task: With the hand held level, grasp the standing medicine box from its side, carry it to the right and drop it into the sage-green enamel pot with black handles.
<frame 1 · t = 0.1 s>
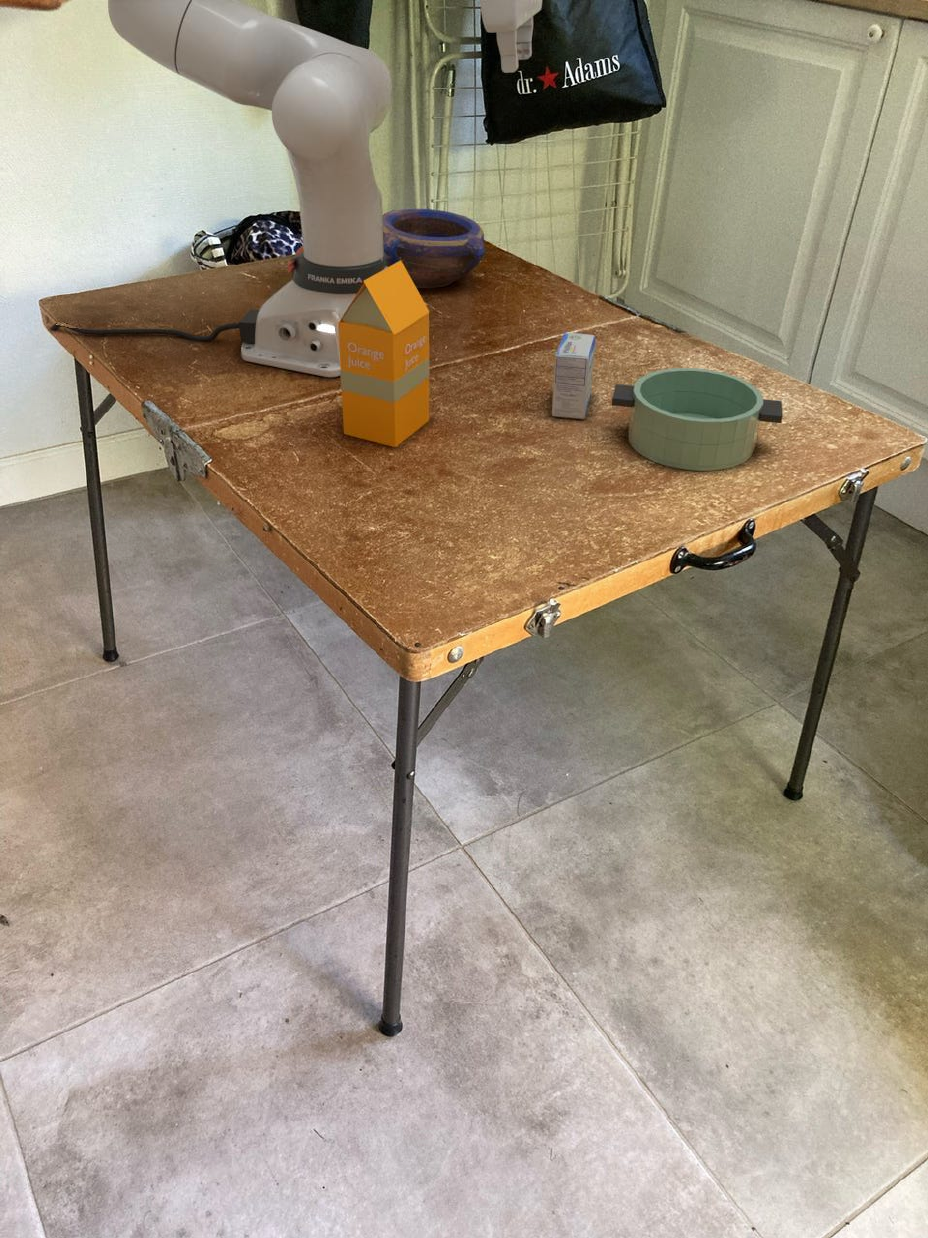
hand: (517, 64, 129), 39 cm above the table, tool pointing down, fingers open, 8 cm apart
medicine box: (571, 407, 142), on the table
pot handles: (696, 403, 131), point 5 cm above the table
pot: (690, 441, 134), on the table
bowl: (430, 281, 182), on the table
orange juice: (387, 428, 136), on the table
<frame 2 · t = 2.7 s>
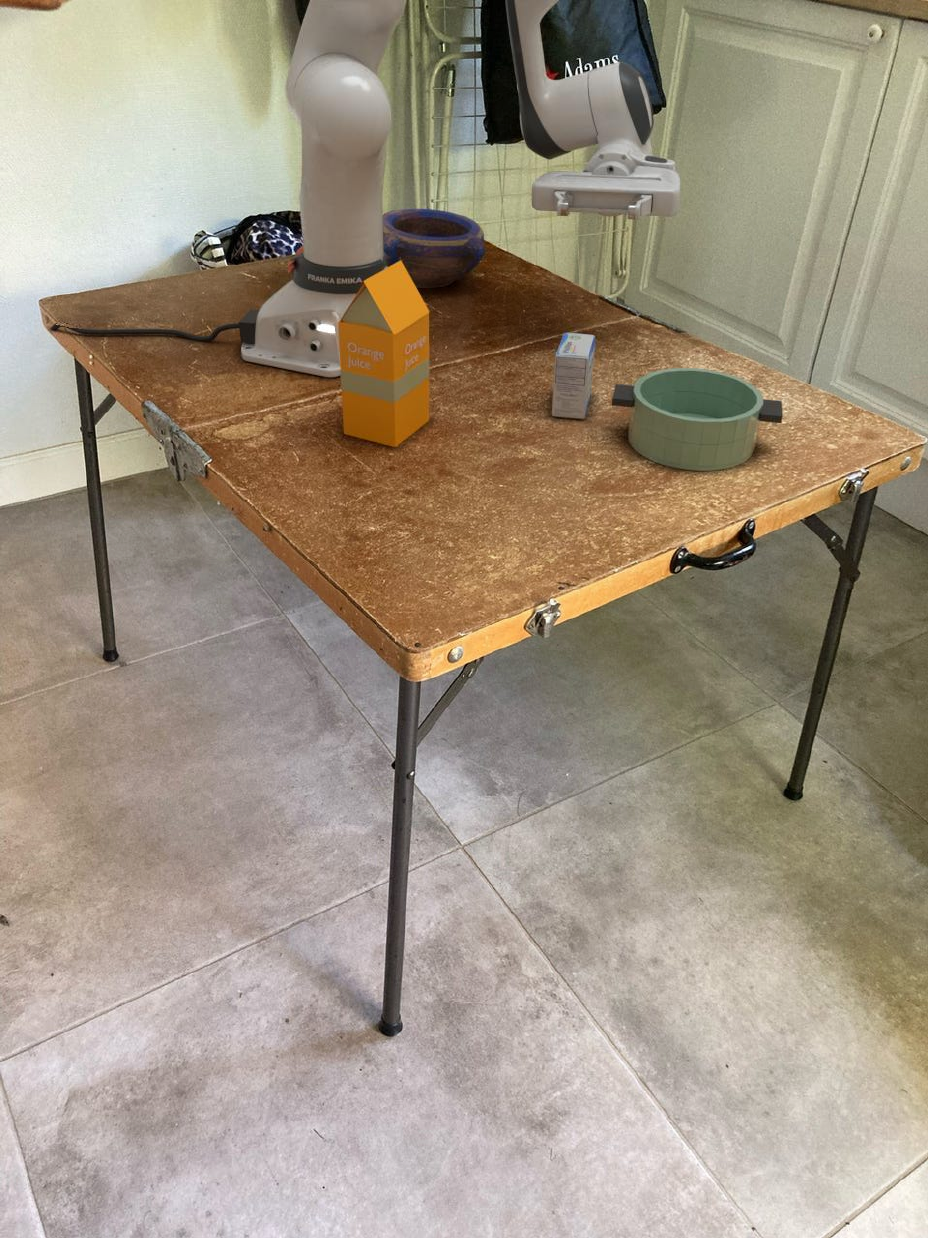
hand: (597, 211, 141), 21 cm above the table, tool horizontal, fingers open, 8 cm apart
nothing on the table moved.
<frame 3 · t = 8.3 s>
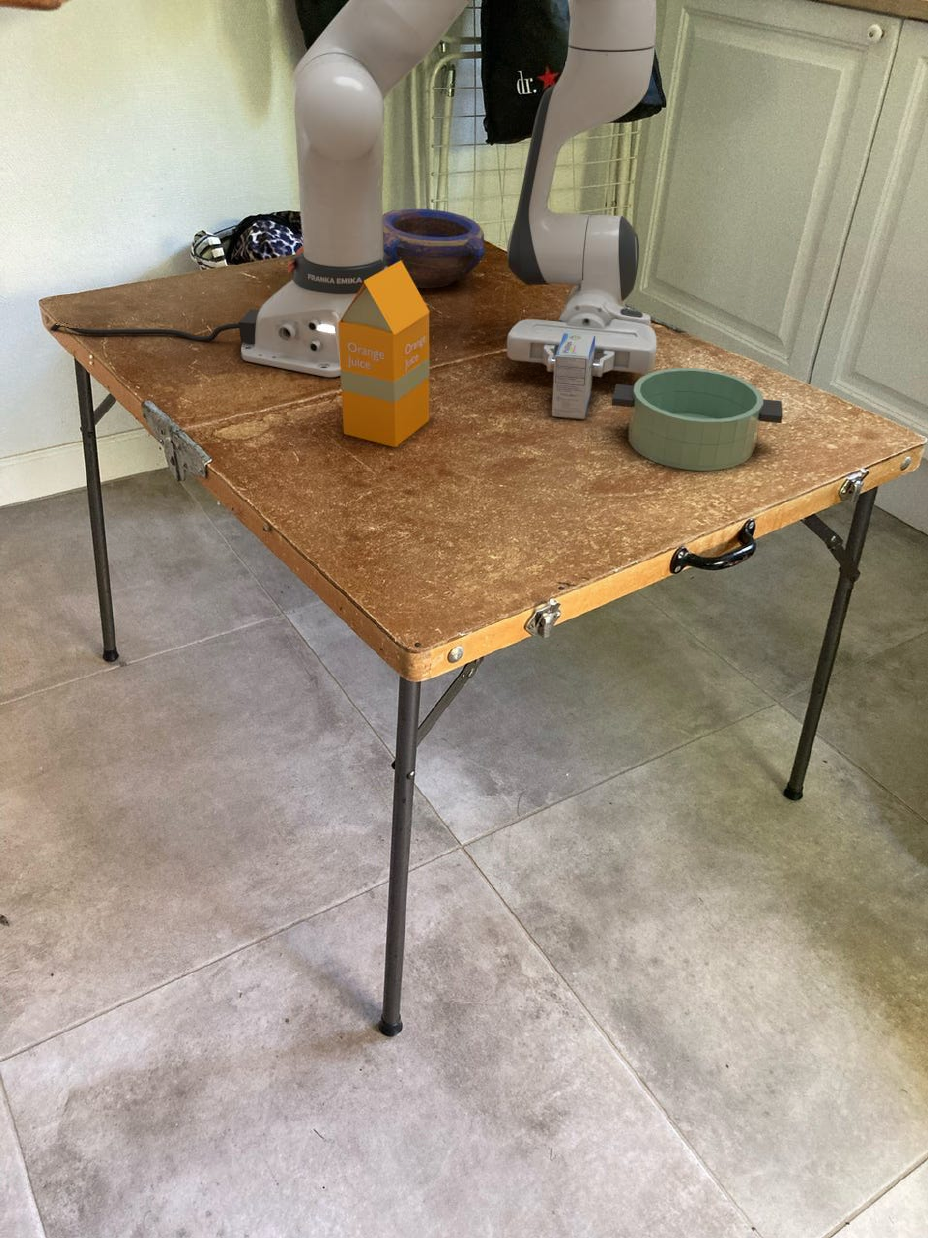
hand: (574, 368, 140), 5 cm above the table, tool horizontal, fingers closed on medicine box, 4 cm apart
medicine box: (571, 407, 142), on the table, touching gripper
everything else where it was.
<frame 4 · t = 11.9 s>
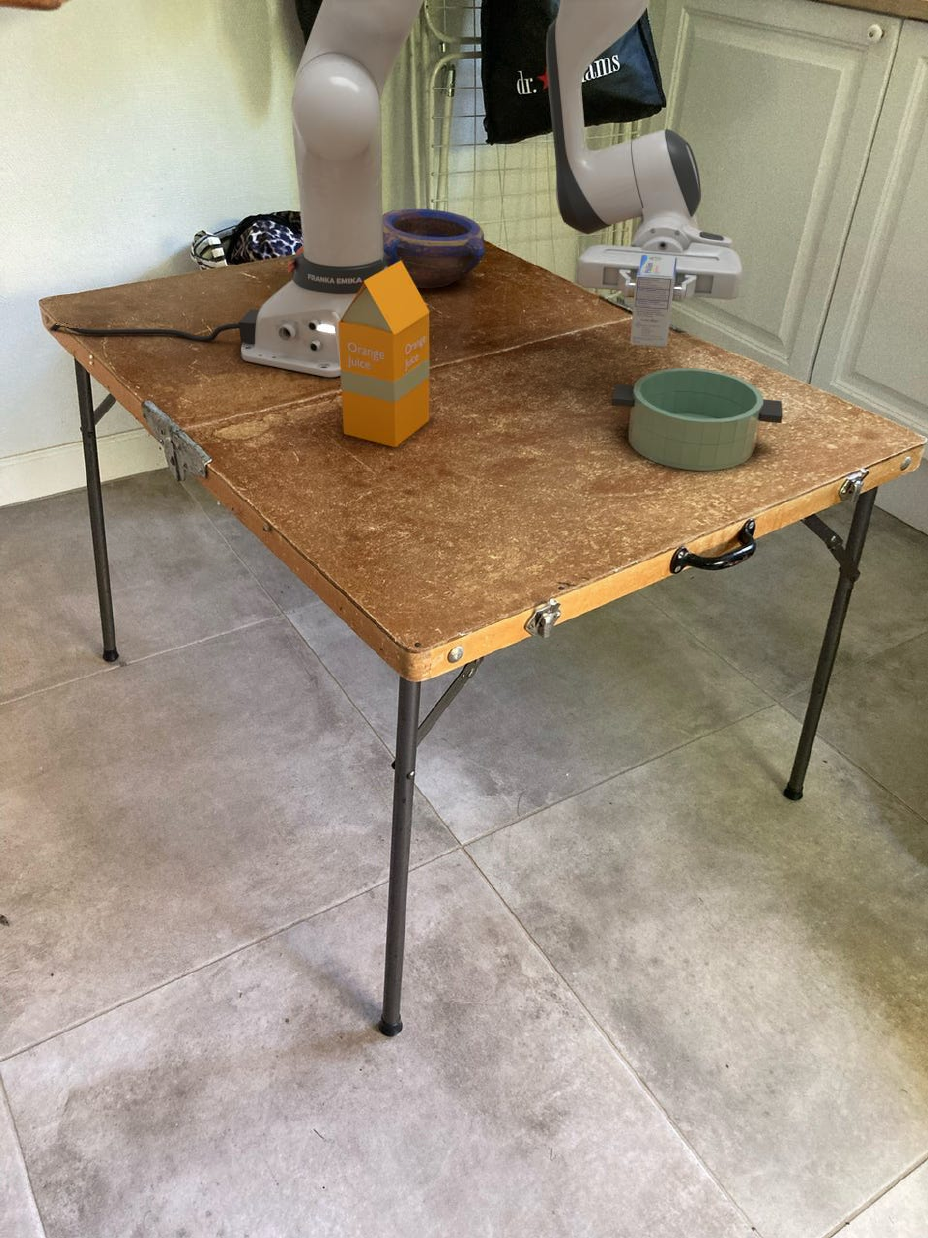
hand: (654, 293, 128), 17 cm above the table, tool horizontal, fingers closed on medicine box, 4 cm apart
medicine box: (649, 336, 131), point 12 cm above the table, touching gripper
everything else where it was.
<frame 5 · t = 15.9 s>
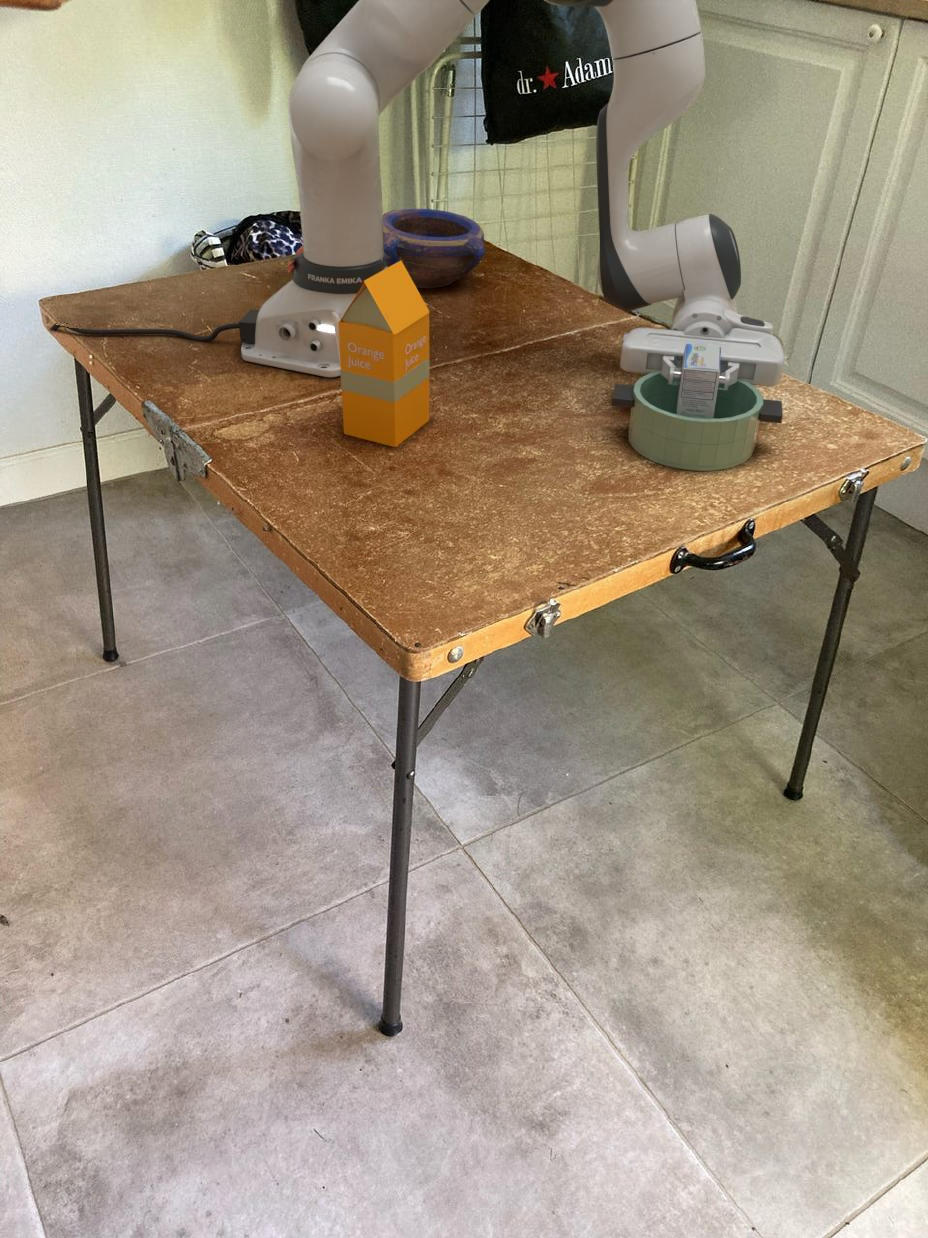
hand: (698, 381, 130), 8 cm above the table, tool horizontal, fingers closed on medicine box, 4 cm apart
medicine box: (692, 423, 133), point 2 cm above the table, touching gripper
everything else where it was.
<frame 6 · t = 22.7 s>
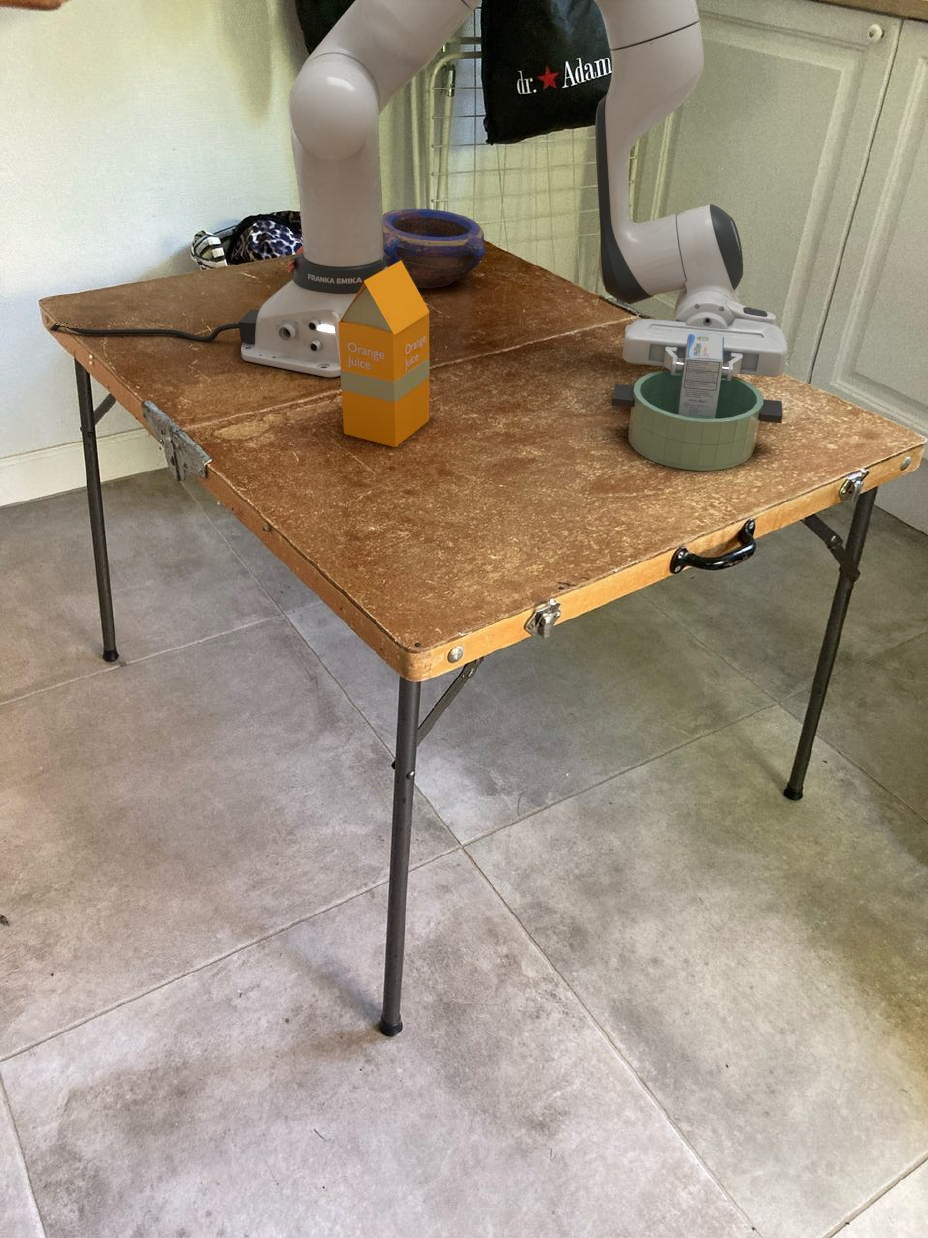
hand: (701, 372, 130), 9 cm above the table, tool horizontal, fingers closed on medicine box, 4 cm apart
medicine box: (695, 414, 132), point 4 cm above the table, touching gripper
everything else where it was.
when the fingers open (11 cm above the table, at t = 29.4 s): medicine box drops 5 cm, resting on pot.
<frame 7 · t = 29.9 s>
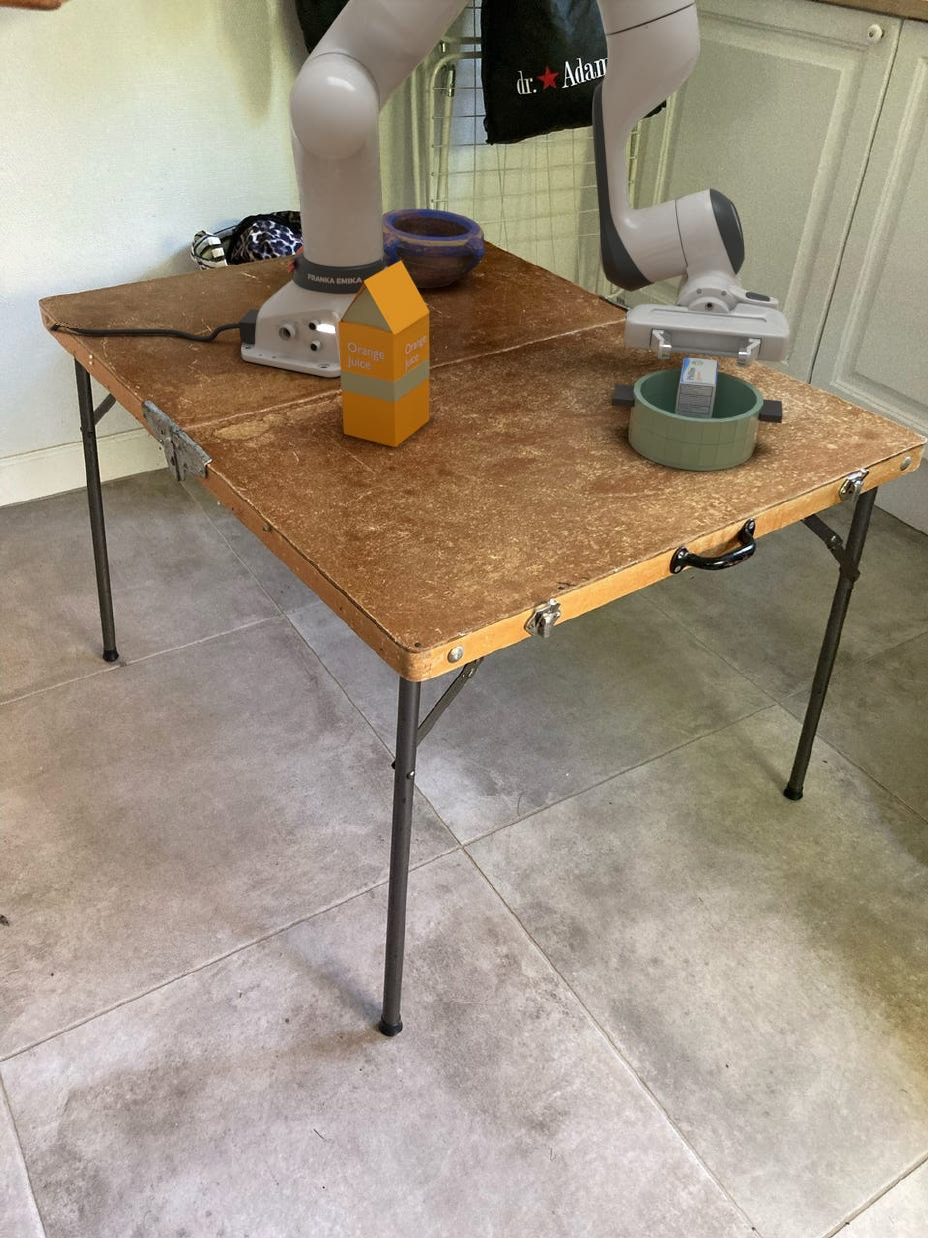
hand: (703, 356, 128), 11 cm above the table, tool horizontal, fingers open, 8 cm apart
medicine box: (689, 436, 135), resting on pot
everything else where it was.
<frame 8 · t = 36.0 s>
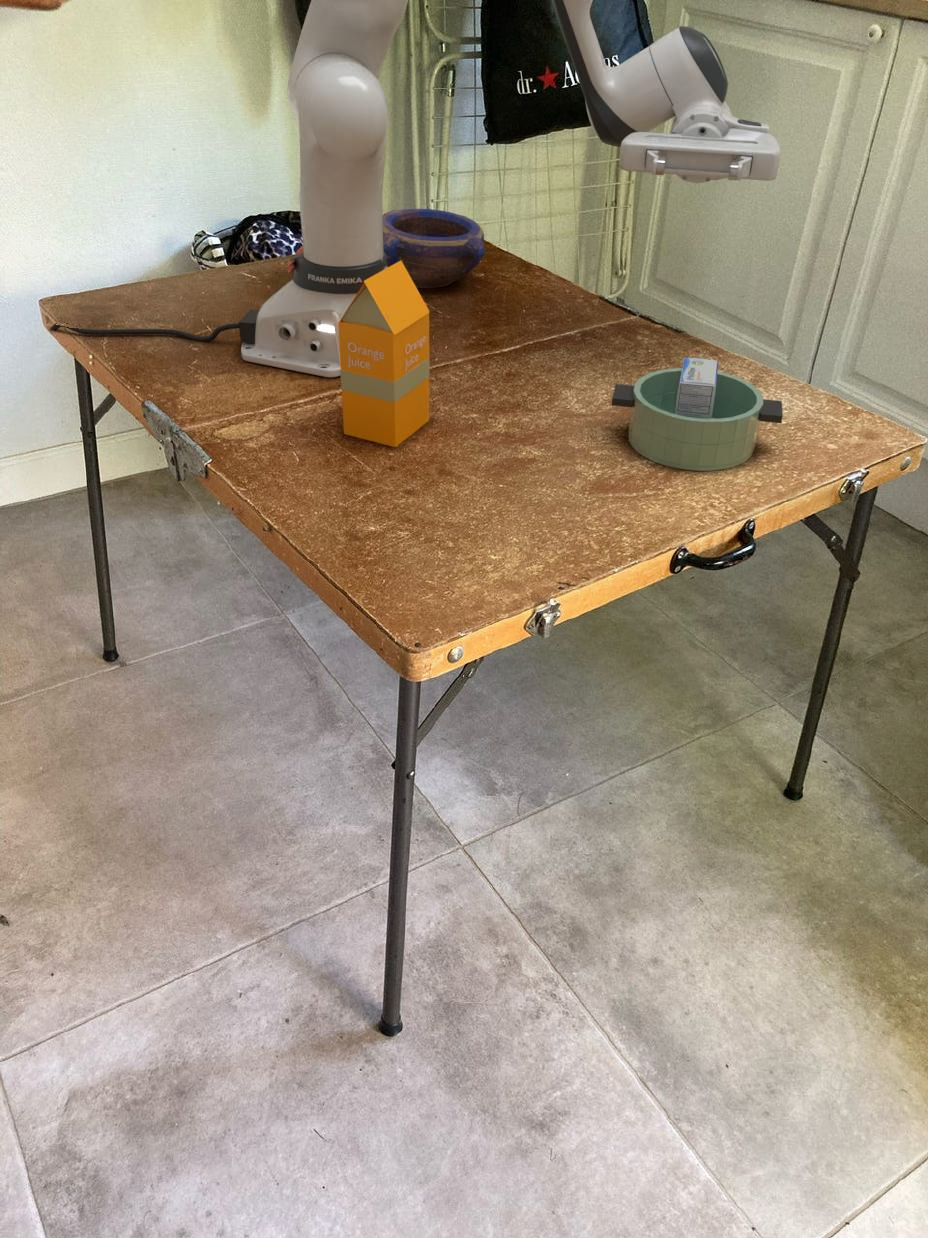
hand: (696, 170, 132), 28 cm above the table, tool horizontal, fingers open, 8 cm apart
nothing on the table moved.
at the end: medicine box inside the target area in the pot (0.6 cm from its centre), point 0.4 cm above the pot's base; the gripper is holding nothing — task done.
